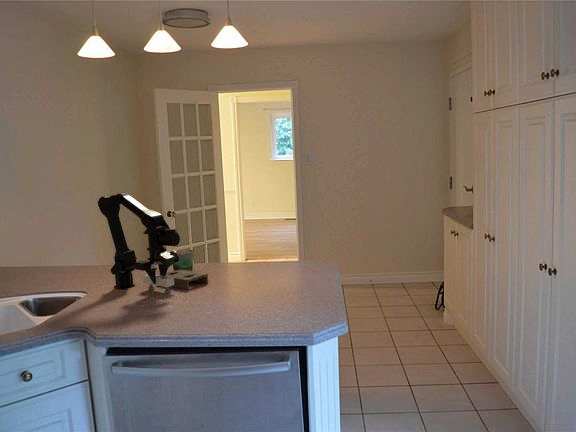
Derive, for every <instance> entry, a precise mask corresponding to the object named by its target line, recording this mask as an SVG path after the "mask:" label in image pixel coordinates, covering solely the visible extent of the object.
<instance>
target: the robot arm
mask: <svg viewBox="0 0 576 432" xmlns="http://www.w3.org/2000/svg"><path fill="white" fill-rule="evenodd" d="M121 205H122V206H123V207H125V209H127V210H129V211H130V212H131V213H132V214H133V215H135V216H136V217H138V218H139V220H140V222H141V224H142V225H143V226H144V227H145V229H146V230H144V231H143V235H147V240H148V242H147V243H148V247H146V251H148V254H149V257H147V260H140V261H139V260H138V258H137V256H136V252H135V250H134V249H132V250H131V249H130V247H128V244H127V243H128V242H127V240H126V236H125V233H124V229H123V226H122V223H121V219H120V215H119V214H120V210H121ZM97 206H98V209H99V211H100V213H101V214H102V215H103V216H104V217H105V218H106V221H107V224H108V227H109V231H110V235H111V238H112V240H113V245H114V249H115V253H114V257H113V258H114V264H113V265H112V266H111V268H110V273H111V275H113V276H114V281H115V285H113V288H116V289H120V290H125V289H127V288H131V287H135V286H136V284H135V283H134V275H133V273H132V272H133V271H135V270H137V271H143V272H144V271H145V273H146V275H149V277H150V279H151V280H152V282H153V284H156V275H157V274H156V271H157V270H159V275H162V276H166V273H167V272H168V270H169V268H170V267H171V266H173V263H175V262H179V257H178V255H177V251H176V250H171V251H167V247H177V246H178V245H179V244H180V242H181V236H180V234H179V232H177V229H176V228H170V226H169V225H168V223H167V221H166V219H164V216H163V214H161V213H160V212H158V211H156V210H153V209H148V208H147V207H145V206H144V205H143V204H141V203H140V202H139V201H137V199H135V198H133V197H132V196H131V195H130V194H129V193H128V192H121V193H117V194H112V195H106V196H100V197H99V199H98V200H97ZM137 260H138V261H137ZM155 265H158V268H157V267H155Z"/></svg>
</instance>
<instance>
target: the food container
mask: <svg viewBox="0 0 576 432" xmlns="http://www.w3.org/2000/svg"><path fill="white" fill-rule="evenodd" d="M177 255H178V257H179V262H175V263H173V264H172V268H173V270H172V271H174V270H177V269H182V270H188V271H194V270H193V269H194V268H193V267H194V264H193V263H194V259H193V258H194V256H195V252H194V251H193V249H189V251H186V252H179V253H178V254H177Z"/></svg>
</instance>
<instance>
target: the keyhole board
mask: <svg viewBox="0 0 576 432" xmlns="http://www.w3.org/2000/svg"><path fill="white" fill-rule="evenodd" d="M166 276H167V277H173V278H174V285H172V286H170V287H172V288H178V289H182V290H190V283H191V282H198V283H204V284H208V283H209V275H208V273H207V272H206V273H205V272H200V271H194V270H193V271H188V270H182V269H177V270H171V271H167V273H166Z"/></svg>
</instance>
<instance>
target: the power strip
mask: <svg viewBox="0 0 576 432" xmlns="http://www.w3.org/2000/svg"><path fill="white" fill-rule="evenodd" d="M142 277H143V283H144V284H149V286H148V291H153V290H155V286H158V287H164V288H165V289H164V290H163V291H164V294H171V293H172V292H171V289H170V287H171V286H172V285H174V278H173V277H167V276H162V275H160V274H156V284H153V282H152V280H151V279H150V277H149V275H148V274H145V275H143V276H142Z"/></svg>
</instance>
